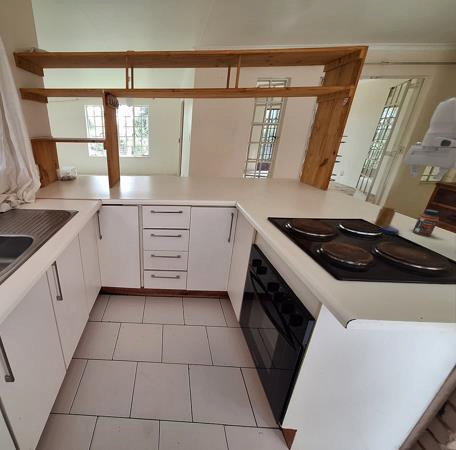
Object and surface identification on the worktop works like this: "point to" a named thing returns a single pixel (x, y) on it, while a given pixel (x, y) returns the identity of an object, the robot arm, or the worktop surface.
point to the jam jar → (385, 216)
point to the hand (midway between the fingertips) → (424, 177)
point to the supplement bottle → (426, 223)
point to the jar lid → (389, 231)
